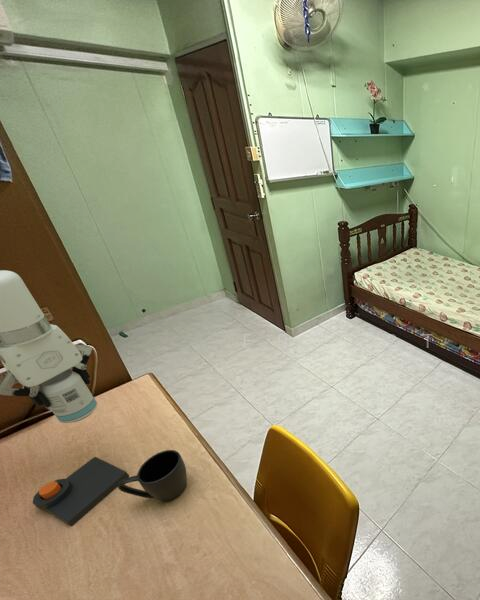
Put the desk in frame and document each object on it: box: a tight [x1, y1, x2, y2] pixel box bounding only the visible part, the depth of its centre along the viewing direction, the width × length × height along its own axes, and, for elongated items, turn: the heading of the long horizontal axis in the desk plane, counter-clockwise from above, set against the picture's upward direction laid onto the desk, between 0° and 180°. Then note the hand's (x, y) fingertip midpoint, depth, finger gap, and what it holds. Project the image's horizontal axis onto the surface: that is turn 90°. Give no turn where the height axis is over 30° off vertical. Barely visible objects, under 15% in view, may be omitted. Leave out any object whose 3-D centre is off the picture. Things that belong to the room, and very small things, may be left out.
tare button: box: [38, 480, 61, 499], centre depth 71 cm, size 3×3×2 cm
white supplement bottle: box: [38, 368, 98, 424], centre depth 73 cm, size 7×7×12 cm
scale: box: [32, 456, 130, 527], centre depth 74 cm, size 12×12×4 cm
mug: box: [117, 449, 187, 503], centre depth 72 cm, size 8×12×10 cm
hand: (66, 392), depth 72 cm, fingers closed on white supplement bottle, 7 cm apart
